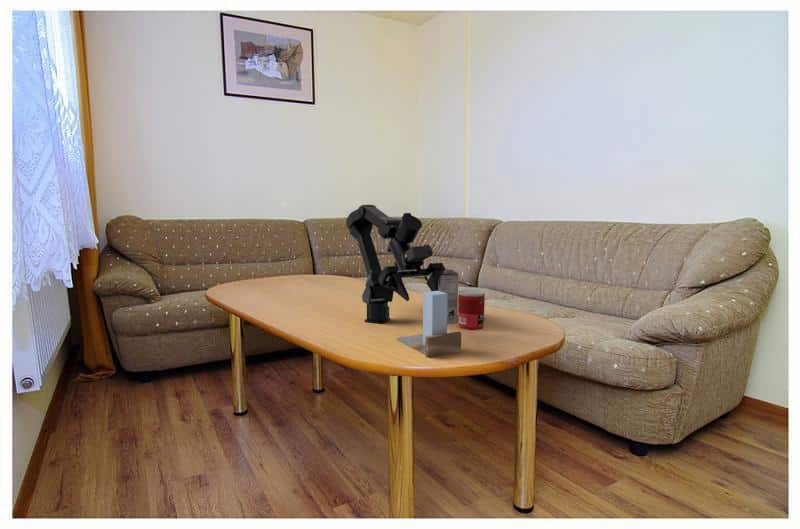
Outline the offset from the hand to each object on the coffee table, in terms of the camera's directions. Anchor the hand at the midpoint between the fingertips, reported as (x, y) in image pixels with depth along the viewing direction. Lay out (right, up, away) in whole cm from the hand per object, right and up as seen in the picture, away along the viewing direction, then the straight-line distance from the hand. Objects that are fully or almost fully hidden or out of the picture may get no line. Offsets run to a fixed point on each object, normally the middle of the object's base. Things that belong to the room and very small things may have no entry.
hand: (423, 298), depth 126 cm
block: (+3, -13, -4) cm, 14 cm away
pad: (-1, -12, +4) cm, 13 cm away
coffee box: (+9, -9, +28) cm, 31 cm away
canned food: (+16, -10, +19) cm, 27 cm away
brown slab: (+3, -13, -4) cm, 14 cm away
